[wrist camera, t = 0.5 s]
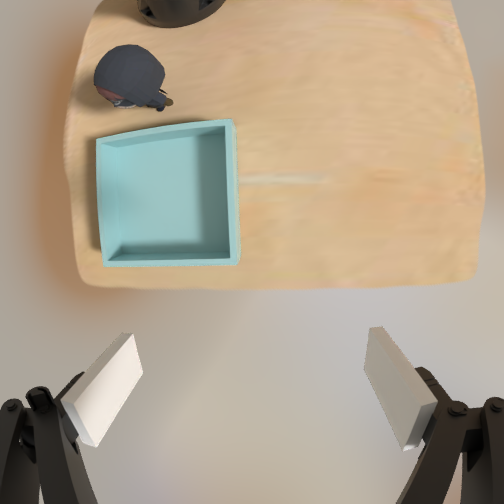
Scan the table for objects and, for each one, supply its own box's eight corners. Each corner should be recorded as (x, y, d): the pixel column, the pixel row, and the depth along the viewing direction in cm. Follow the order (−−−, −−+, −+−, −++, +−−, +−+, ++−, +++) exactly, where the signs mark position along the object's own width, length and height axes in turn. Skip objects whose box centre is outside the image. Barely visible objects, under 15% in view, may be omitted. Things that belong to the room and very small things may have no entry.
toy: (123, 113, 37) (66, 84, 22) (149, 70, 35) (104, 27, 21) (169, 135, 37) (121, 108, 23) (197, 90, 36) (164, 42, 21)
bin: (115, 144, 38) (96, 138, 32) (236, 128, 37) (231, 118, 32) (121, 258, 41) (103, 266, 36) (241, 255, 40) (237, 264, 35)
